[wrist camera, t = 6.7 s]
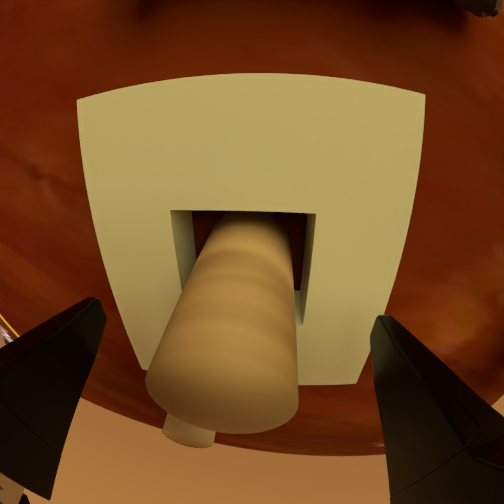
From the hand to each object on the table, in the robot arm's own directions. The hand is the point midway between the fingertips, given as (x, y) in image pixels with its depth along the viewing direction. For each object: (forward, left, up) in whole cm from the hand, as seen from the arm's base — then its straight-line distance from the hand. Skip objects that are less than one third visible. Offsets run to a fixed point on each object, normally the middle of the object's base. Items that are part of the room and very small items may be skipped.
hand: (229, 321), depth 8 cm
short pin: (+4, +13, -5) cm, 15 cm away
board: (0, 0, -5) cm, 5 cm away
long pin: (0, 0, -5) cm, 5 cm away
